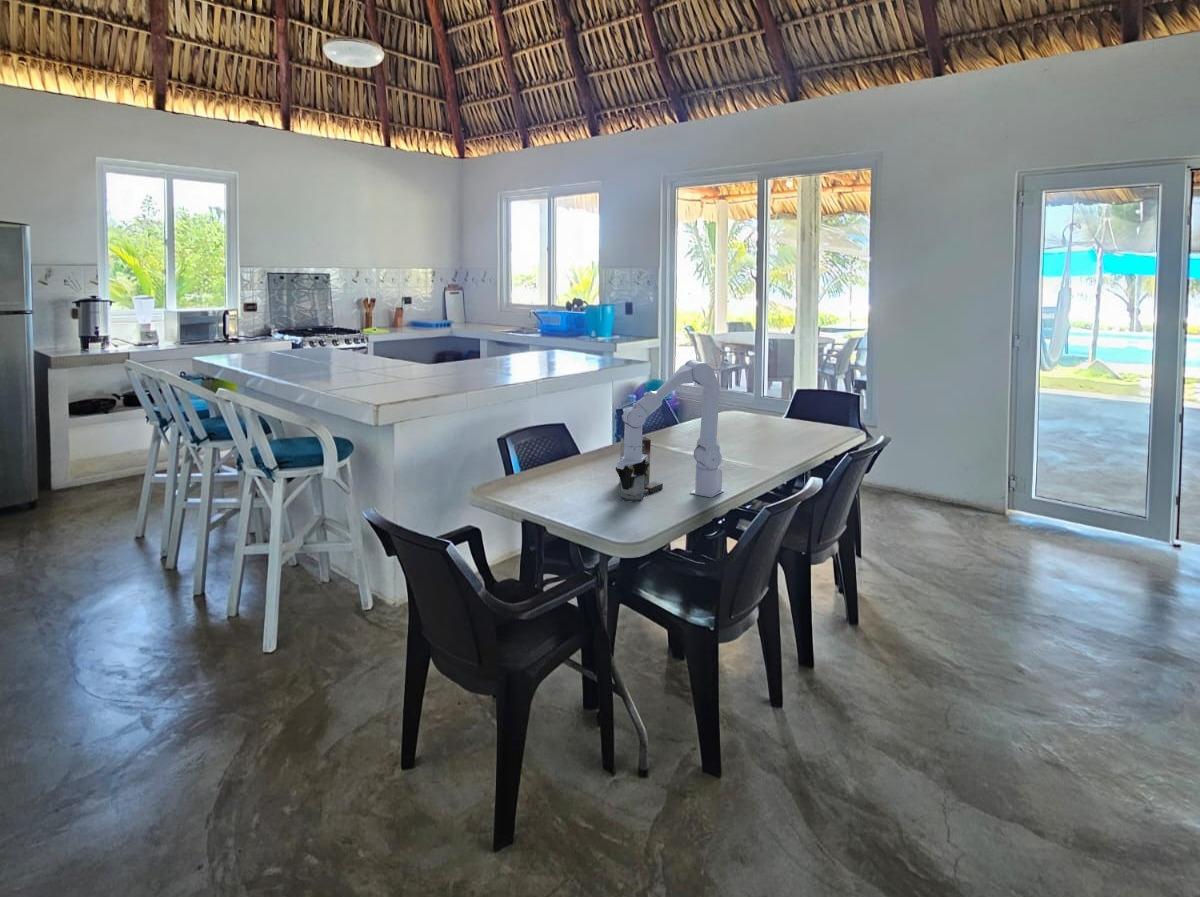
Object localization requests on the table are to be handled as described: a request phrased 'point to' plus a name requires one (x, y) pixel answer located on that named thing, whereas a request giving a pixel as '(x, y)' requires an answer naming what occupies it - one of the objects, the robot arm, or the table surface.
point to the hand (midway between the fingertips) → (632, 486)
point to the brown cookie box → (645, 450)
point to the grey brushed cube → (635, 485)
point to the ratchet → (647, 490)
